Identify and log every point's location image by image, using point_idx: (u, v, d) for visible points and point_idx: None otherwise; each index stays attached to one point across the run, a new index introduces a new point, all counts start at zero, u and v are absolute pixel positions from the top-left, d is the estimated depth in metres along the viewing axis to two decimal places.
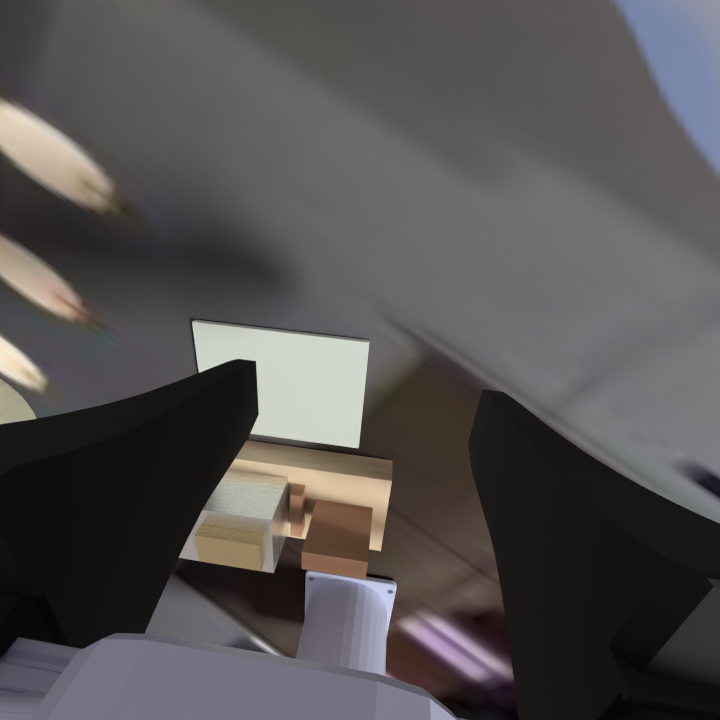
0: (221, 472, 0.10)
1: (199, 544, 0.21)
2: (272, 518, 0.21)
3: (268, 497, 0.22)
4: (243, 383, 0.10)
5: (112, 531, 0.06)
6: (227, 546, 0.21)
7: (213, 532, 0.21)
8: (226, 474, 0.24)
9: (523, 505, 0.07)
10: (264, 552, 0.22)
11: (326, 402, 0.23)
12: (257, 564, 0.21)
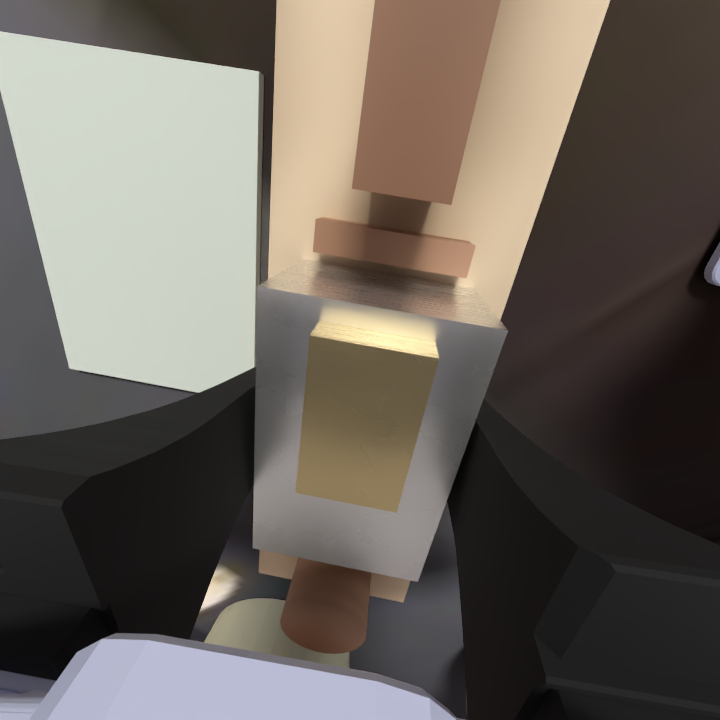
0: None
1: (328, 492, 0.08)
2: (266, 285, 0.07)
3: None
4: None
5: (166, 540, 0.06)
6: (327, 428, 0.07)
7: None
8: None
9: (477, 498, 0.07)
10: (395, 336, 0.07)
11: (149, 151, 0.11)
12: (404, 362, 0.06)
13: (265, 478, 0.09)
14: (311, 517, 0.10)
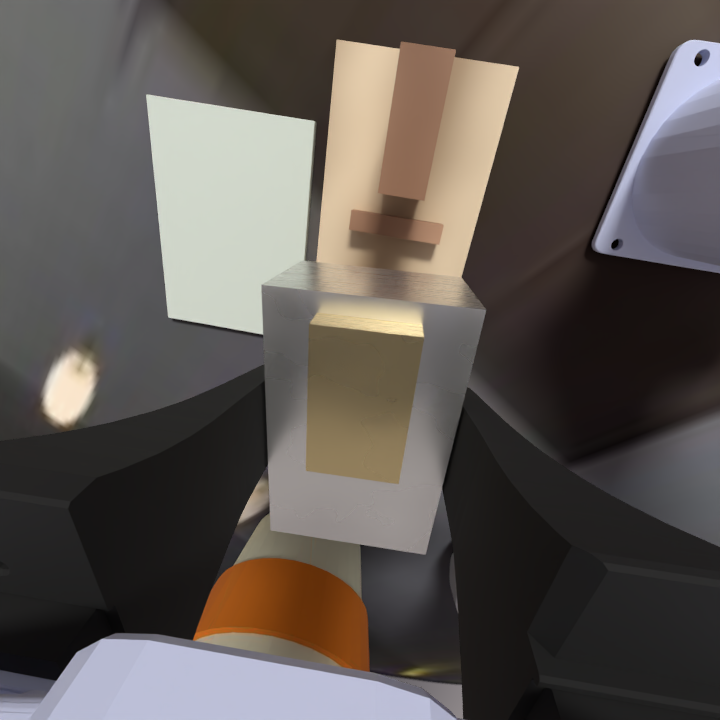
0: (256, 477, 0.10)
1: (335, 468, 0.09)
2: (269, 283, 0.08)
3: None
4: None
5: (170, 540, 0.06)
6: (330, 408, 0.08)
7: None
8: None
9: (474, 498, 0.07)
10: (385, 322, 0.08)
11: (241, 168, 0.17)
12: (393, 342, 0.07)
13: (278, 462, 0.10)
14: (322, 497, 0.10)
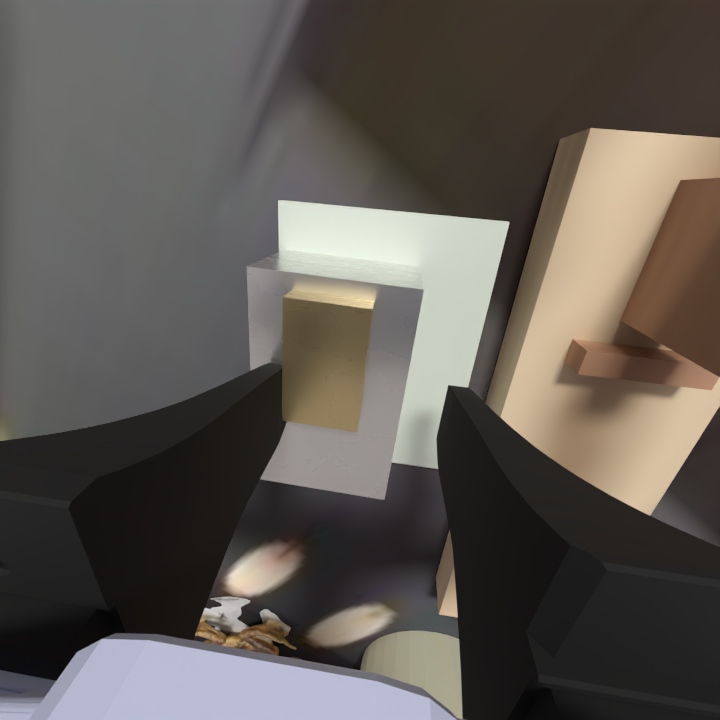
0: (257, 477, 0.10)
1: (306, 418, 0.11)
2: (253, 265, 0.10)
3: None
4: (277, 388, 0.10)
5: (170, 541, 0.06)
6: (300, 367, 0.10)
7: None
8: None
9: (473, 498, 0.07)
10: (345, 298, 0.10)
11: None
12: (348, 313, 0.09)
13: None
14: (297, 448, 0.12)
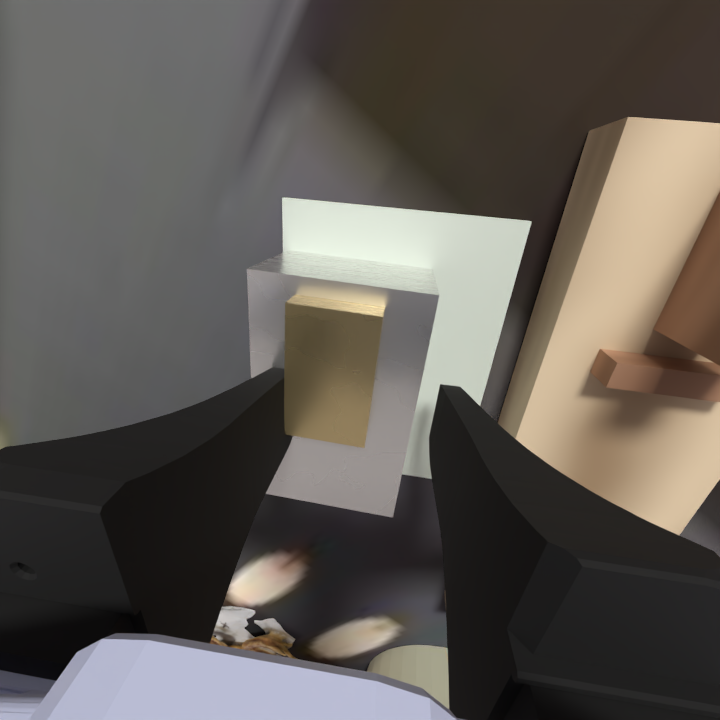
0: (269, 479, 0.10)
1: (309, 432, 0.10)
2: (254, 268, 0.09)
3: None
4: None
5: (191, 544, 0.06)
6: (304, 377, 0.09)
7: None
8: None
9: (462, 496, 0.07)
10: (353, 303, 0.09)
11: None
12: (356, 321, 0.08)
13: None
14: (300, 461, 0.12)
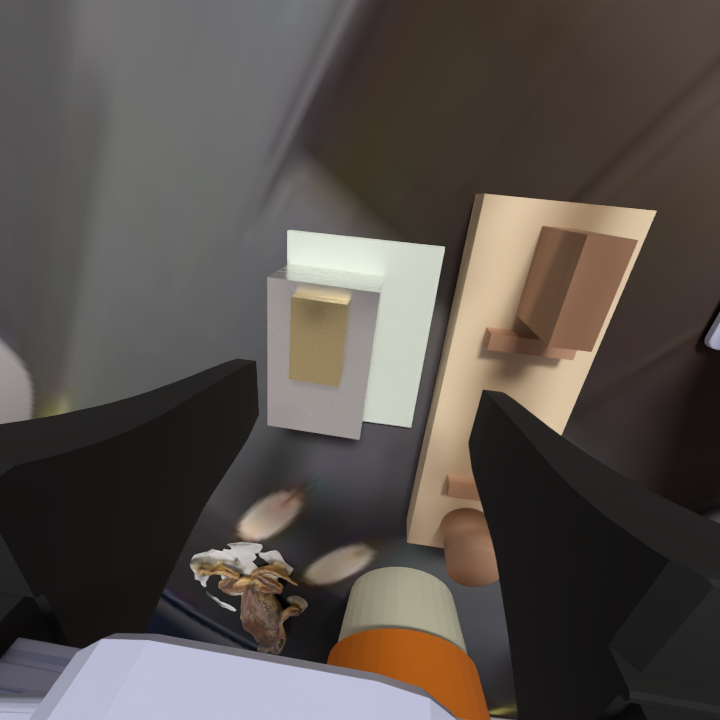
0: (221, 472, 0.10)
1: (304, 377, 0.16)
2: (271, 276, 0.15)
3: None
4: (243, 383, 0.10)
5: (112, 531, 0.06)
6: (301, 342, 0.15)
7: None
8: None
9: (523, 505, 0.07)
10: (330, 297, 0.15)
11: None
12: (332, 307, 0.15)
13: (273, 379, 0.17)
14: (298, 401, 0.18)
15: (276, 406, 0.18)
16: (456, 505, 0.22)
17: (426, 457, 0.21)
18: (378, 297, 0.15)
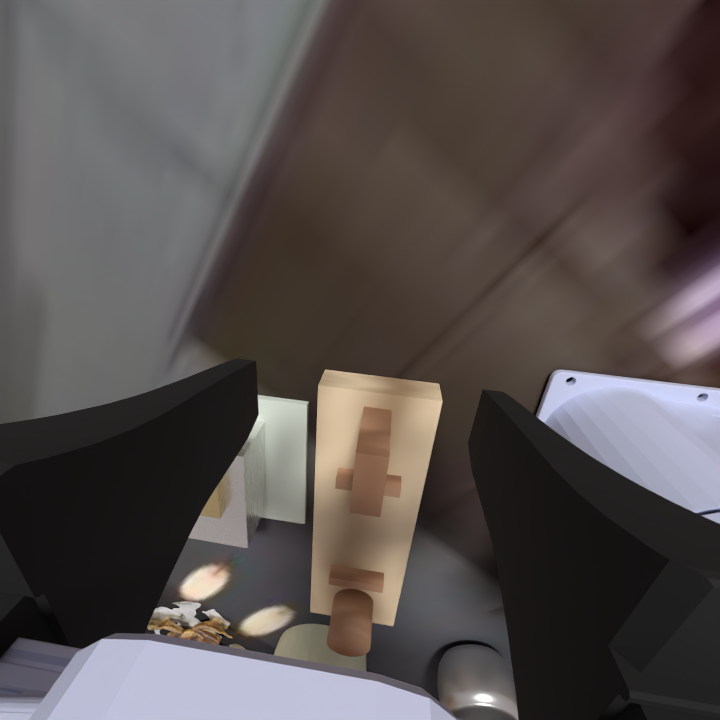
0: (221, 472, 0.10)
1: None
2: None
3: None
4: (243, 383, 0.10)
5: (112, 531, 0.06)
6: None
7: None
8: None
9: (523, 505, 0.07)
10: None
11: None
12: None
13: None
14: (197, 521, 0.23)
15: None
16: (343, 586, 0.27)
17: (312, 552, 0.26)
18: (242, 459, 0.20)
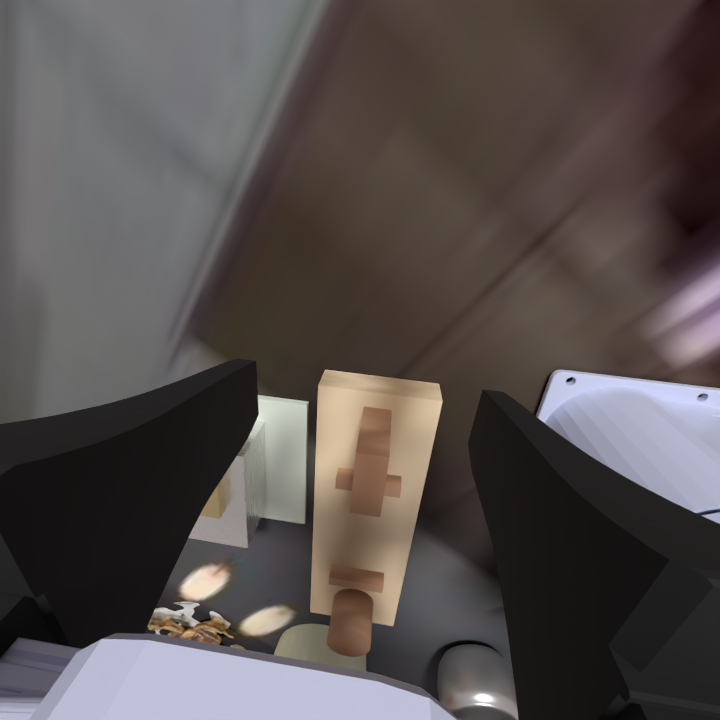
0: (221, 472, 0.10)
1: None
2: None
3: None
4: (243, 383, 0.10)
5: (112, 531, 0.06)
6: None
7: None
8: None
9: (523, 505, 0.07)
10: None
11: None
12: None
13: None
14: (197, 521, 0.23)
15: None
16: (343, 586, 0.27)
17: (312, 552, 0.26)
18: (242, 459, 0.20)
